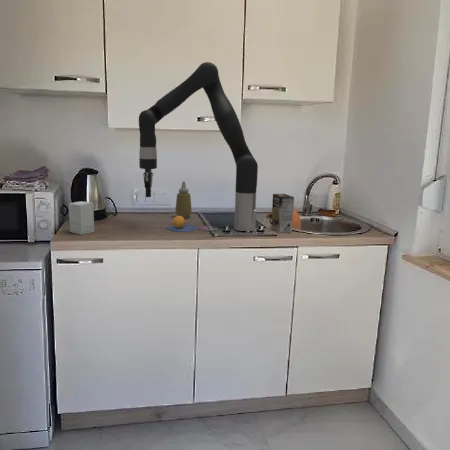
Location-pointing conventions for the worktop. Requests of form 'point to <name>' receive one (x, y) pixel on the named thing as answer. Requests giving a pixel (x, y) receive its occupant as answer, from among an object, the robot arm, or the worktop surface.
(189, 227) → the disc
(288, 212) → the coffee box
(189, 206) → the squeeze bottle
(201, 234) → the worktop surface
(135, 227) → the worktop surface
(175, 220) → the ball
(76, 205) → the supplement box
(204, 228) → the disc
